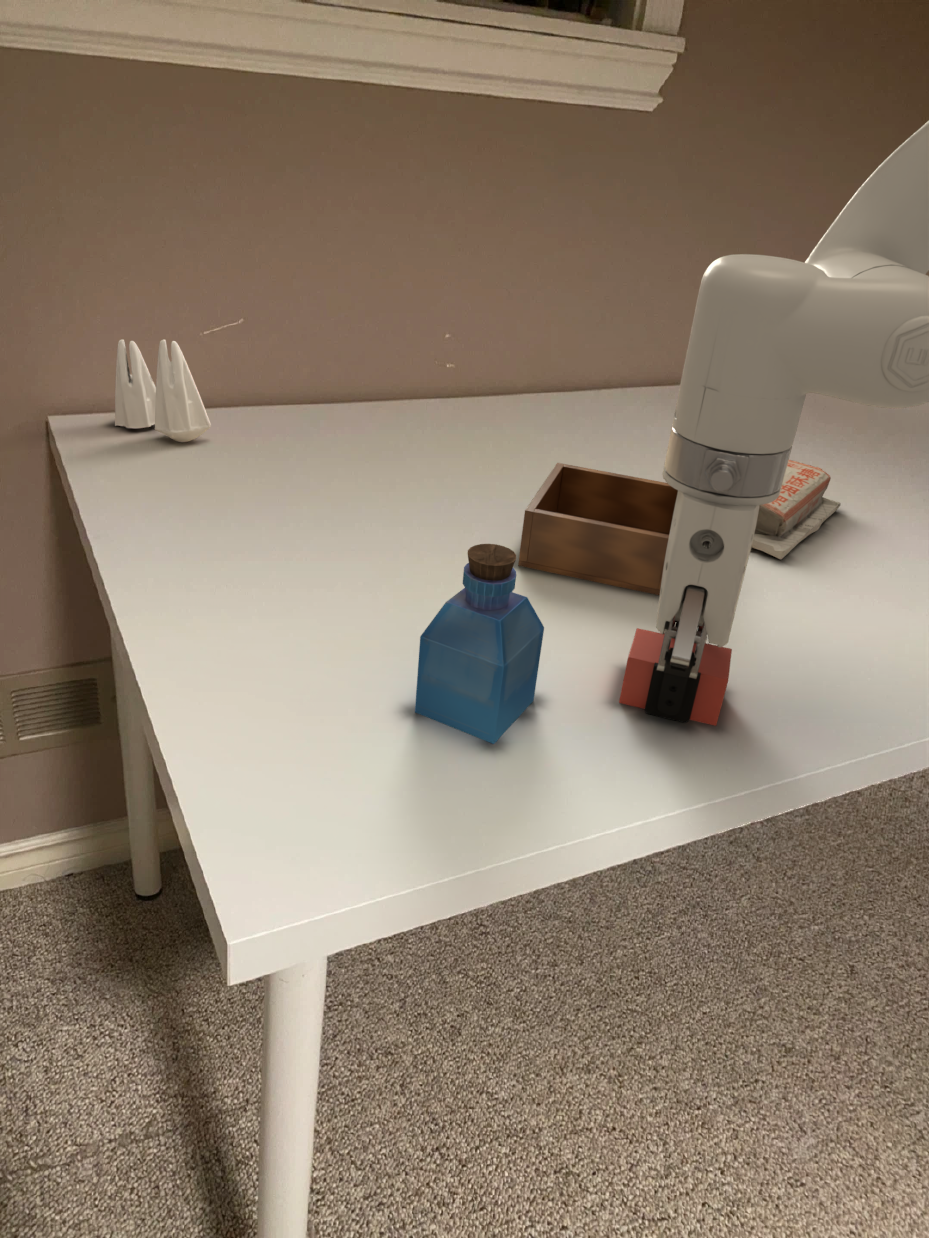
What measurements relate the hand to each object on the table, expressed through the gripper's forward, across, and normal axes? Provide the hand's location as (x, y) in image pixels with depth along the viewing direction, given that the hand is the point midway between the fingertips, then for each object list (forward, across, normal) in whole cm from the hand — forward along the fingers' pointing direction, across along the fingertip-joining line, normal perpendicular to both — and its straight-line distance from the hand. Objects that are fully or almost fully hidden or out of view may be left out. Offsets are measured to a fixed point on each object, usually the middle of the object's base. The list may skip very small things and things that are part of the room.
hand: (671, 694), depth 70 cm
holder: (0, +23, +9) cm, 25 cm away
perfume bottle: (+1, -7, +13) cm, 15 cm away
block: (0, 0, 0) cm, 0 cm away
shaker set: (+1, +31, +62) cm, 69 cm away
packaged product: (+1, +39, -6) cm, 39 cm away
